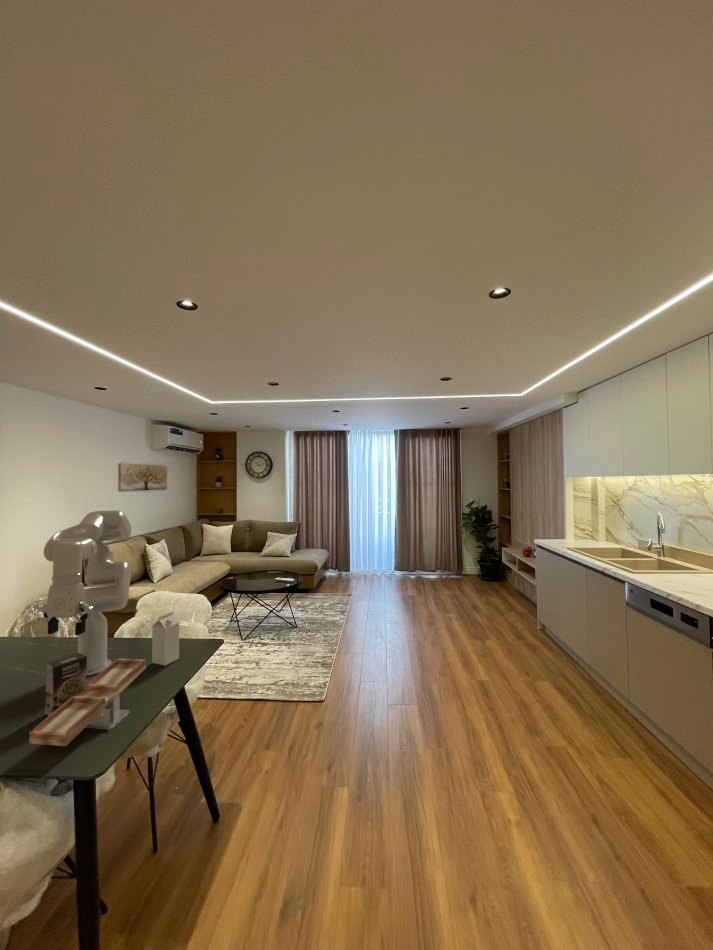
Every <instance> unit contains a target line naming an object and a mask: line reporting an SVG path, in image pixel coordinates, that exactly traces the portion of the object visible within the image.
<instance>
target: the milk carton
mask: <svg viewBox="0 0 713 950" xmlns="http://www.w3.org/2000/svg"><path fill="white" fill-rule="evenodd" d="M151 628H152V637H151V639H152V640H151V641H152V645H151V646H152V648H151V652H152V653H151V662H152V664H155V665H160V666H163V667H164V666H165V667H166V666H167V665H169V664H171V663H173V662H175V661H178V660H179V659H180V620H178V619H177V617H176V616H175V615H174V611H170V612H168V613H166V614H162V615H161V616H158V619H157V620H156V621H155V622H154V623H153V624H152V627H151Z"/></svg>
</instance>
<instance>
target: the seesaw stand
mask: <svg viewBox="0 0 713 950" xmlns="http://www.w3.org/2000/svg"><path fill="white" fill-rule="evenodd" d="M80 694H81V693H78V694H77V695H75V696H79V695H80ZM120 699H121V698H120V694H119V695H116V696H114V697H113V698H111V699H110V705H109V708H106V707H105V708H104V709H103V710H102V711H101V712H100V713H99V714H98V715H97V716H96V717H95V718H94V719H93V720H92V721H91V722H90V723H89V724H88V725H87V726H86V727H85V728H97V729H106V730H105V731H111V730H112V729H113V728H114V727H116V726H117V725H118V724H119V723H120V722H121V721H123V720H124V719H125V718H127V716H129V715H130V709H123V708H122V709H120V703H121V701H120ZM128 714H129V715H128ZM124 717H125V718H124ZM123 718H124V719H123ZM122 719H123V720H122ZM117 723H118V724H117ZM116 724H117V725H116ZM111 728H112V729H111ZM97 729H96V730H97ZM110 729H111V730H110Z"/></svg>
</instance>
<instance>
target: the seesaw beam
mask: <svg viewBox="0 0 713 950" xmlns="http://www.w3.org/2000/svg"><path fill="white" fill-rule="evenodd" d="M146 668H147V663H146V659H141V658H140V659H139V658H138V659H137V658H120V657H119V658H115V660H113V661H112V663H111V664H110V665H109V666H108V667H106V668H105V669H104V670H103V671H102V672H100V673H97V674H96V676H94V677H93V678H92V679H90V680H89V682H86V685H85V689H86V690H85V691H84V692H83V693H81V694H80V695H79V696H72V697H71V698H70V699H68V700H67V701H66V702H65V703H64V704H63V705H61V706H60V707H59V708H58V709H57V710H55V711H54V712H53V713H52V714H51V715H49V716H47V717H46V718H45V719H44V720H42V721H41V722H40V723H38V725H36V726H35V727H34V728H33V729H32V730H30V731H29V733H28V734H29V735H28V736H29V738H28V740H29V744H31V745H33V744H34V745H45V746H46V745H49V746H58V747H67V746H68V745H69V744H70V743H71V741H73V740H74V739H75V738H76V737H77V736H78V735H79V734H80V733H81V732H82V731H83V730H85V729H84V728H85V727H86V726H87V725H88V724H89V723H90V722H91V721H92V720H93V719H94V718H95V717H96V716H97V715H98V714H99V713H100V712H101V711H102V710H103V709H104V708H105V709H106V707H108V706H110V699H111V698H113V697H114V696H116V695H120V694H121V693H122V692H123V691H124V690H125V689H126V688H127V687H128V686H129V685H130V684H131V683H132V682H133V681H134V680H135V679H136V678H137V677H138V676H139V675H140V674H141V673H143V672H144V670H146Z"/></svg>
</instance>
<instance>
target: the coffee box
mask: <svg viewBox="0 0 713 950" xmlns="http://www.w3.org/2000/svg"><path fill="white" fill-rule="evenodd" d="M45 668H46V669H45V671H46V673H45V674H46V676H45V677H46V678H45V701H44V702H45V703H44V705H45V706H44V707H45V708H44V715H46V714H47V715H48V716H49V715H51V714H52V713H53V712H54V711H55V710H57V709H58V708H59V707H60V706H61V705H63V704H64V703H65V702H66V701H67V700H68V699H70V698H71V697H72V696H75V695H77V694H78V693H83V692H84V691H85V690H86V689H85V685H86V684H87V676H86V669H87V656H85V655H83V654H80V653H78V652H76V653H74V654H70V655H67V656H64V657H60V658H58V659H54V660H51V661H48V662H46V667H45ZM47 715H46V716H47ZM48 716H47V717H48Z"/></svg>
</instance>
